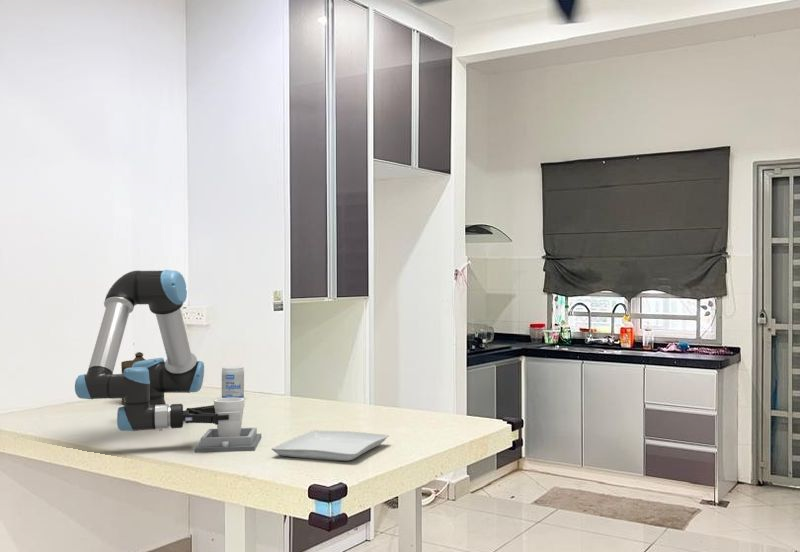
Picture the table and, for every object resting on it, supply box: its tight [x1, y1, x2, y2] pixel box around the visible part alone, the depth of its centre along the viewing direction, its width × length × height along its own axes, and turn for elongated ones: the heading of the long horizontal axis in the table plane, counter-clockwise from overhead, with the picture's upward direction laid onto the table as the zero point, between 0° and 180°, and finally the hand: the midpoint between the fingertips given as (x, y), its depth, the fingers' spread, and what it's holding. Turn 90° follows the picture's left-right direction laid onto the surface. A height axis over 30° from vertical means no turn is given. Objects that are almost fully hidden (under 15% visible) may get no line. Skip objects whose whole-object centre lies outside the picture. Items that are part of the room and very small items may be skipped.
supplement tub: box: [221, 365, 245, 400], centre depth 332 cm, size 10×10×15 cm
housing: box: [194, 426, 262, 453], centre depth 243 cm, size 20×18×4 cm
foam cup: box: [213, 397, 245, 437], centre depth 243 cm, size 10×9×13 cm
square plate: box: [271, 430, 390, 462], centre depth 231 cm, size 27×27×4 cm
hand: (239, 412), depth 243 cm, fingers open, 13 cm apart
